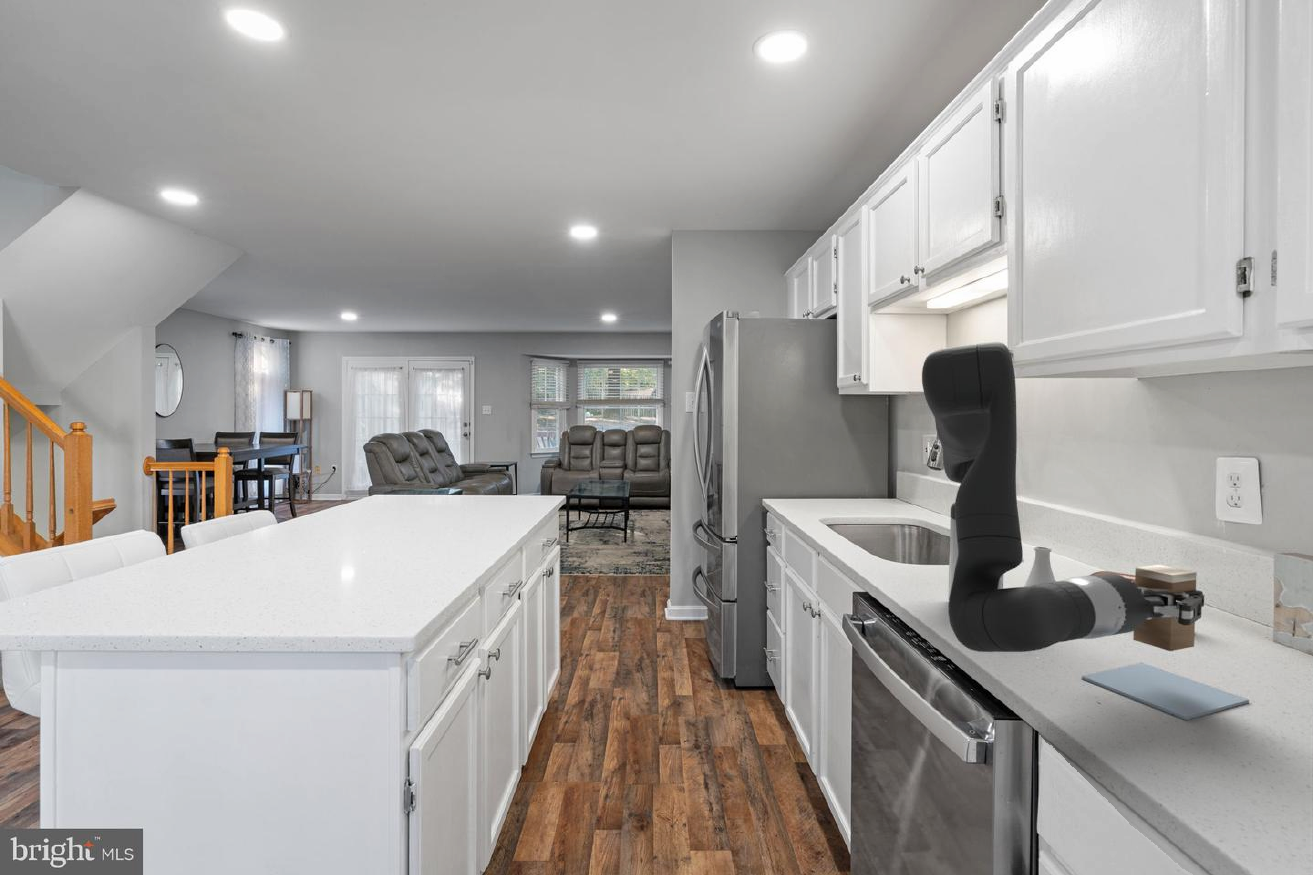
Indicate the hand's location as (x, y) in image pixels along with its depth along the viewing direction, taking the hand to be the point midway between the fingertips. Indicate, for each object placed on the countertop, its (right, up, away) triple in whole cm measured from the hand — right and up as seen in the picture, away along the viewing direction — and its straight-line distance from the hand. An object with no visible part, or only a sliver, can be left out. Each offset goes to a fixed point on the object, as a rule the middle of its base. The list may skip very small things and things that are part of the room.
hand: (1177, 593), depth 86 cm
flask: (+8, -12, +44) cm, 46 cm away
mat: (-2, -13, 0) cm, 13 cm away
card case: (-3, -7, -1) cm, 7 cm away
